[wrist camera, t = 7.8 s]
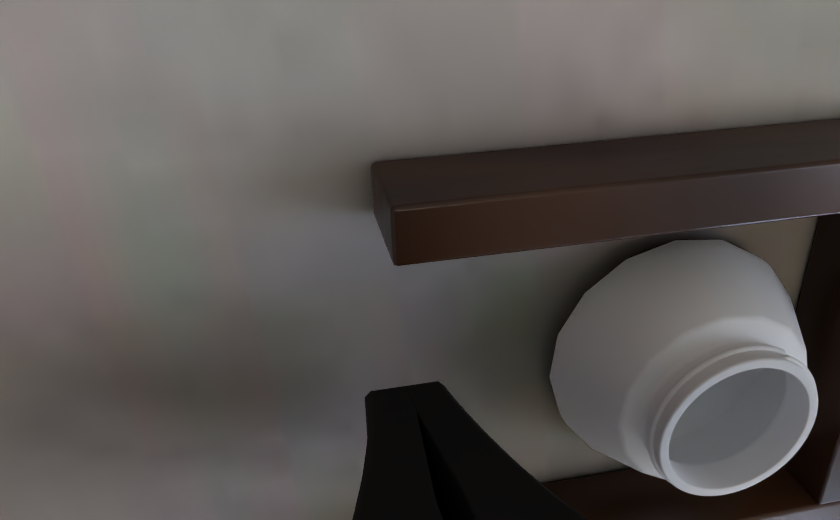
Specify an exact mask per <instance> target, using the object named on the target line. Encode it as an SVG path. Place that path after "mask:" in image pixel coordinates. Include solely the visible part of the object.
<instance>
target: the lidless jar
mask: <svg viewBox="0 0 840 520" xmlns="http://www.w3.org/2000/svg"><path fill="white" fill-rule="evenodd" d="M549 378H550V381H551V385H552V388H553V392H554V395H555V399H556V403H557V406H558V410H559V413H560V415H561V416H562V418H563V420H564V422H565V423H566V424H567V425H568V426H569V427H570V428H571V429H572V430H573V431H574V432H575V433H576V434H577V435H578V436H579V437H580V438H581V439H582V440H583V441H584V442H585V443H586V444H587V445H588V446H589V447H590V448H592V449H594V450H596V451H598V452H600V453H602V454H604V455H606V456H608V457H610V458H612V459H615V460H617V461H619V462H621V463H623V464H625V465H627V466H629V467H631V468H633V469H635V470H637V471H640V472H642V473H644V474H648V475H651V476H655V477H658V478H661V479H665V480H667V481H668V482H669V483H671V484H672V485H674V486H675V487H676V488H678V489H680V490H682V491H684V492H687V493H690V494H694V495H700V496H718V495H725V494H730V493H734V492H737V491H740V490H743V489H746V488H748V487H750V486H753V485H755V484H757V483H759V482H761V481H762V480H764V479H766V478H767V477H769V476H770V475H772V474H773V473H775V472H776V471H777V470H779V469H780V468H781V467H782V466H783V465H785V464H786V463H787V462H788V461H789V460H790V459H791V458H792V457H793V456H794V455H795V453H796V452H797V451H798V450H799V449H800V447H801V446H802V445H803V443H804V442H805V440H806V439H807V437H808V435H809V433H810V431H811V429H812V427H813V425H814V422H815V419H816V415H817V410H818V393H817V388H816V384H815V380H814V378H813V376H812V374H811V372H810V371H809V369H808V368H807V353H806V347H805V344H804V341H803V337H802V334H801V331H800V327H799V324H798V321H797V317H796V314H795V311H794V307H793V304H792V301H791V297H790V295H789V294H788V292H787V291H786V289H785V288H784V286H783V285H782V283H781V282H780V280H779V278H778V277H777V275H776V274H775V272H774V271H773V269H772V268H771V266H770V265H769V264H768V263H766V262H765V261H763V260H762V259H761V258H759V257H758V256H756V255H754V254H751V253H749V252H747V251H745V250H743V249H741V248H739V247H737V246H734V245H732V244H730V243H728V242H726V241H724V240H675V241H672V242H670V243H667V244H664V245H662V246H659V247H657V248H654V249H651V250H649V251H646V252H644V253H641V254H639V255H636V256H633V257H631V258H628V259H626V260H625V261H624V262H622V263H621V264H620V265H619V266H617V267H616V268H615V269H614V270H612V271H611V272H610V273H609V274H607V275H606V276H605V277H604V278H603V279H601V280H600V281H599V282H598V283H596V284H595V285H594V286H593V287H591V288H590V289H589V290H588V291H586V292H585V293H584V295H583V296H582V298H581V299H580V301H579V303H578V304H577V306H576V307H575V309H574V310H573V312H572V313H571V315H570V317H569V318H568V320H567V321H566V323H565V324H564V326H563V327H562V329H561V331H560V332H559V334H558V336H557V341H556V346H555V351H554V356H553V361H552V366H551V371H550V376H549Z"/></svg>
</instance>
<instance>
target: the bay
mask: <svg viewBox="0 0 840 520" xmlns="http://www.w3.org/2000/svg"><path fill="white" fill-rule="evenodd" d="M371 171H372V189H373V206H374V215H375V217H376V220H377V223H378V225H379V228H380V230H381V233H382V236H383V238H384V241H385V244H386V246H387V249H388V251H389V254H390V257H391V259H392V262H393V264H394V265H397V266H401V265H409V264H418V263H426V262H435V261H443V260H452V259H460V258H468V257H477V256H485V255H494V254H502V253H511V252H519V251H527V250H536V249H544V248H553V247H561V246H570V245H578V244H586V243H595V242H603V241H612V240H620V239H629V238H637V237H645V236H654V235H662V234H671V233H679V232H688V231H696V230H704V229H713V228H721V227H730V226H738V225H747V224H755V223H763V222H772V221H780V220H789V219H797V218H806V217H814V216H820V219H819V223H818V227H817V231H816V235H815V239H814V243H813V247H812V251H811V255H810V259H809V263H808V267H807V271H806V275H805V279H804V283H803V287H802V291H801V295H800V299H799V303H798V307H797V311H796V317H797V321H798V324H799V327H800V331H801V334H802V337H803V341H804V344H805V347H806V353H807V368H808V369H809V371H810V372H811V374H812V376H813V378H814V380H815V384H816V388H817V393H818V410H817V415H816V419H815V422H814V425H813V427H812V429H811V431H810V433H809V435H808V437H807V439H806V440H805V442H804V443H803V445H802V446H801V447H800V449H799V450H798V451H797V452H796V453H795V455H794V456H793V457H792V458H791V459H790V460H789V461H788V462H787V463H786V464H785V465H783V466H782V467H781V468H780V469H779V470H777V471H776V472H775V473H773V474H772V475H770V476H769V477H767V478H766V479H764V480H762V481H761V482H759V483H757V484H755V485H753V486H750V487H748V488H746V489H743V490H740V491H737V492H734V493H730V494H725V495H718V496H700V495H694V494H690V493H687V492H684V491H682V490H680V489H678V488H676V487H675V486H674V485H672V484H671V483H669V482H668V481H667V480H665V479H661V478H658V477H655V476H651V475H648V474H644V473H642V472H640V471H637V470H635V469H633V468H632V469H626V470H620V471H615V472H609V473H603V474H598V475H592V476H586V477H581V478H575V479H569V480H564V481H558V482H552V483H547V484H542V485H543V486H544V487H546V488H547V489H548V490H549V491H550V492H552V493H553V494H554V495H556V496H557V497H558V498H559V499H561V500H562V501H563V502H565V503H566V504H567V505H569V506H570V507H571V508H573V509H574V510H575V511H577V512H578V513H580V514H581V515H582V516H584V517H585V518H587V519H588V520H840V119H832V120H822V121H811V122H800V123H790V124H779V125H768V126H758V127H747V128H736V129H726V130H715V131H704V132H694V133H683V134H672V135H662V136H651V137H640V138H630V139H619V140H608V141H598V142H587V143H576V144H566V145H555V146H544V147H534V148H523V149H512V150H502V151H491V152H480V153H470V154H459V155H448V156H438V157H427V158H416V159H406V160H395V161H384V162H375V163H373V164H372V167H371Z"/></svg>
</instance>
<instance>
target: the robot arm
mask: <svg viewBox="0 0 840 520" xmlns="http://www.w3.org/2000/svg"><path fill="white" fill-rule="evenodd" d="M365 408H366V423H367V448H366V455H365V462H364V469H363V475H362V481H361V485H360V490H359V494H358V498H357V503H356V507H355V512H354V515H353V519H352V520H588V519H587V518H585V517H584V516H582V515H581V514H580V513H578V512H577V511H575V510H574V509H573V508H571V507H570V506H569V505H567V504H566V503H565V502H563V501H562V500H561V499H559V498H558V497H557V496H556V495H554V494H553V493H552V492H550V491H549V490H548V489H547V488H546V487H544V486H543V485H542V484H541V483H540V482H538V481H537V480H536V479H535V478H534V477H533V476H531V475H530V474H529V473H528V472H527V471H526V470H524V469H523V468H522V467H521V466H520V465H519V464H518V463H517V462H516V461H515V460H513V459H512V458H511V457H510V456H509V455H508V454H507V453H506V452H505V451H504V450H503V449H502V448H501V447H500V446H499V445H498V444H497V443H496V442H495V441H494V440H493V439H492V438H491V437H490V436H489V435H488V434H487V433H486V432H485V431H484V430H483V429H482V428H481V427H480V426H479V425H478V424H477V423H476V422H475V421H474V420H473V418H472V417H471V416H470V415H469V414H468V413H467V412H466V411H465V410H464V409H463V407H462V406H461V405H460V404H459V403H458V402H457V401H456V399H455V398H454V397H453V396H452V395H451V394H450V392H449V391H448V390H447V389H446V387H445V386H444V385H442V384H441V383H440V382H439V381H437V382H430V383H423V384H416V385H409V386H403V387H396V388H389V389H382V390H375V391H371V392H370V393H369V394H368V395H367V396H366V397H365Z"/></svg>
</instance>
